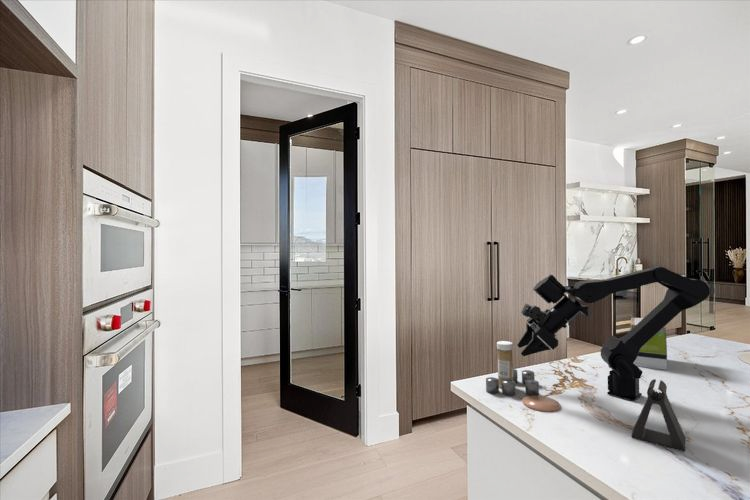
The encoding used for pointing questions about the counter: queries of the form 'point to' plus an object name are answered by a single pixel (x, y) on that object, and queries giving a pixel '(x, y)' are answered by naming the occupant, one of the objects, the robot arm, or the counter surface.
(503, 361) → the sprinkles bottle
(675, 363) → the counter surface
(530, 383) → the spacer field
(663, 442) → the phone stand
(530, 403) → the coaster
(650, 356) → the tea box
